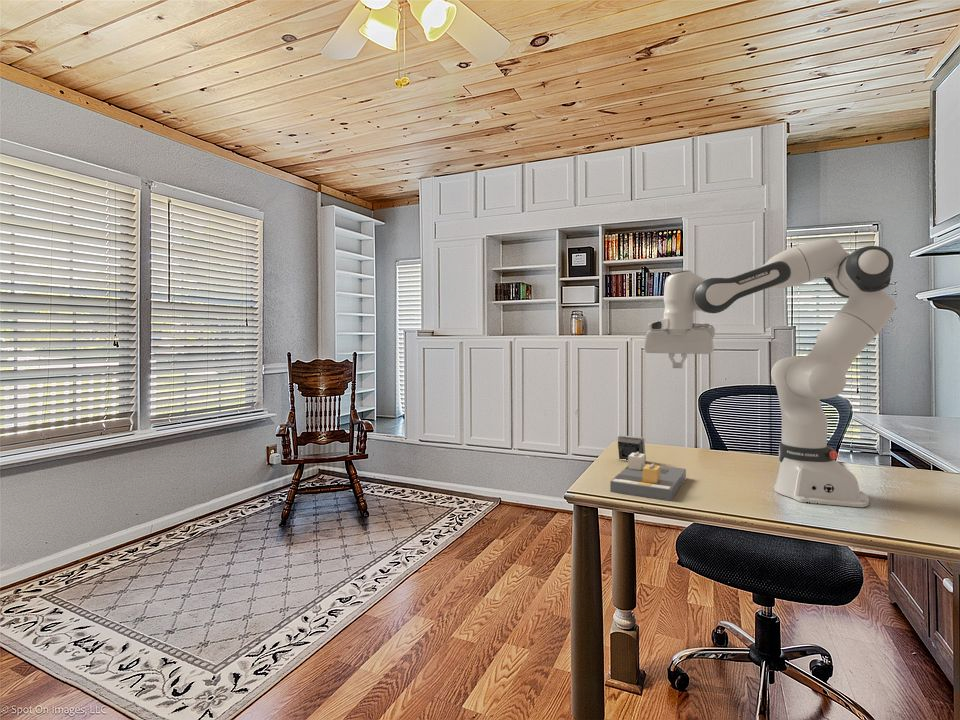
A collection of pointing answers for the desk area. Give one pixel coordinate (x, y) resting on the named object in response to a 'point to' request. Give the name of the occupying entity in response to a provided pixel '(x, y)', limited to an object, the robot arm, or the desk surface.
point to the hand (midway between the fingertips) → (677, 368)
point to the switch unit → (634, 485)
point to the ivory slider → (636, 461)
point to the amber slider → (651, 473)
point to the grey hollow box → (630, 446)
